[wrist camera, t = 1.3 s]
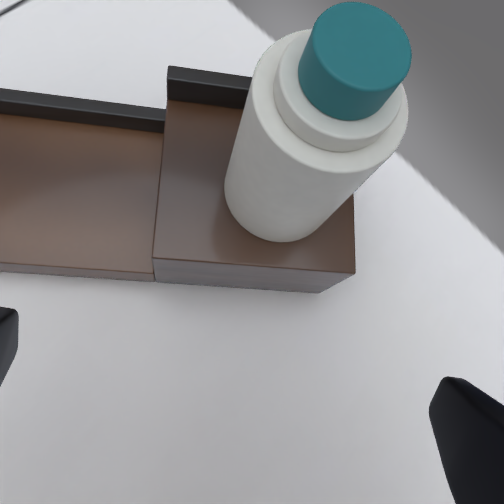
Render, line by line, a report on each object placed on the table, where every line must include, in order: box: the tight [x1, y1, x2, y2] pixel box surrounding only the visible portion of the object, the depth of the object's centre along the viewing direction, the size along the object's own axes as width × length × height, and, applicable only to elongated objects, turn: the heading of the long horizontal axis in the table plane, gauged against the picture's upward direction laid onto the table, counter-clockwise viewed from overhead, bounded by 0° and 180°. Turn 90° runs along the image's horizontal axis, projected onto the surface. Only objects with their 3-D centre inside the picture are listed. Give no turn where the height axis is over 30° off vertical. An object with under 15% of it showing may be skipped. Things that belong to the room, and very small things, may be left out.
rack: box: [0, 66, 356, 293], centre depth 21 cm, size 8×19×6 cm, turn 88°
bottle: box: [224, 2, 412, 242], centre depth 15 cm, size 5×5×9 cm
